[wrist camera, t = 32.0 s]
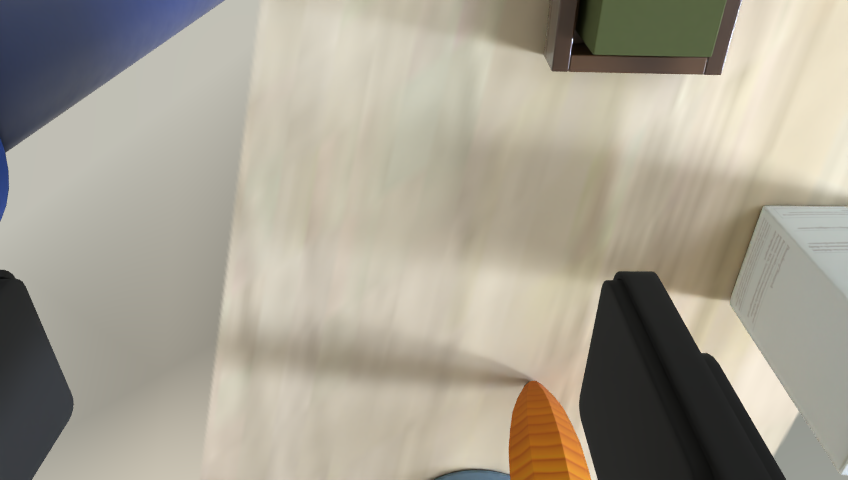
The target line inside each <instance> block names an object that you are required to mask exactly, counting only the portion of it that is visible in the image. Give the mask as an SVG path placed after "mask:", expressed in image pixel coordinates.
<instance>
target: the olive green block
mask: <svg viewBox="0 0 848 480" xmlns="http://www.w3.org/2000/svg"><path fill="white" fill-rule="evenodd" d="M726 1H727V0H580V5H579V12H578V19H577V26H576V32H577V33H578V34H579V36H580V37H581V38H582V40H583V41H584V43H585V44H586V45H587V47H588V48H589V49H590V51H591V52H592V53H593V54H594V55H632V56H681V57H711V56H712V54H713V50H714V46H715V42H716V39H717V35H718V31H719V27H720V24H721V20H722V16H723V12H724V9H725V5H726Z"/></svg>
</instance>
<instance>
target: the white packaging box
mask: <svg viewBox="0 0 848 480" xmlns="http://www.w3.org/2000/svg"><path fill="white" fill-rule="evenodd" d="M730 305H731V307H732V308H733V310H734V312H735V313H736V314H737V316H738V317H739V319H740V321H741V322H742V324H743V325H744V327H745V329H746V330H747V332H748V333H749V335H750V336H751V338H752V339H753V341H754V342H755V344H756V345H757V347H758V348H759V350H760V351H761V353H762V355H763V356H764V358H765V359H766V361H767V362H768V364H769V365H770V367H771V369H772V370H773V371H774V373H775V375H776V376H777V378H778V379H779V381H780V382H781V384H782V385H783V387H784V389H785V390H786V392H787V393H788V395H789V397H790V398H791V400H792V401H793V402H794V404H795V406H796V407H797V409H798V410H799V412H800V413H801V415H802V416H803V418H804V419H805V421H806V423H807V424H808V425H809V427H810V429H811V430H812V432H813V433H814V435H815V436H816V438H817V440H818V441H819V443H820V444H821V446H822V447H823V449H824V450H825V452H826V453H827V455H828V456H829V458H830V460H831V461H832V463H833V464H834V466H835V467H836V469H837V470H838V472H839V474H841V475H848V206H764V207H763V208H762V211H761V213H760V216H759V219H758V222H757V224H756V228H755V230H754V233H753V236H752V239H751V241H750V244H749V247H748V250H747V253H746V256H745V258H744V261H743V264H742V267H741V270H740V273H739V275H738V278H737V281H736V284H735V287H734V289H733V293H732V296H731V300H730Z"/></svg>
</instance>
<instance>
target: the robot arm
mask: <svg viewBox="0 0 848 480" xmlns="http://www.w3.org/2000/svg"><path fill="white" fill-rule="evenodd" d="M579 409H580V417H581V421H582V425H583V429H584V432H585V436H586V439H587V443H588V446H589V450H590V453H591V457H592V461H593V464H594V468H595V471H596V475H597V478H598V480H786V478H785V477H784V475H783V473H782V472H781V470H780V468H779V466H778V465H777V463H776V461H775V460H774V458H773V456H772V454H771V453H770V451H769V449H768V448H767V446H766V444H765V442H764V441H763V439H762V437H761V435H760V434H759V432H758V430H757V429H756V427H755V425H754V423H753V422H752V420H751V418H750V417H749V415H748V413H747V411H746V410H745V408H744V406H743V405H742V403H741V401H740V399H739V398H738V396H737V394H736V393H735V391H734V389H733V387H732V386H731V384H730V382H729V381H728V379H727V377H726V375H725V374H724V372H723V370H722V368H721V367H720V365H719V364H718V362H717V361H716V360H715V358H714V357H713V356H711V355H709V354H708V353H701V352H700V350H699V349H698V347H697V345H696V343H695V341H694V340H693V338H692V336H691V334H690V332H689V331H688V329H687V327H686V325H685V323H684V322H683V320H682V318H681V316H680V315H679V313H678V311H677V309H676V307H675V306H674V304H673V302H672V300H671V298H670V297H669V295H668V293H667V291H666V290H665V288H664V286H663V284H662V282H661V281H660V279H659V277H658V276H657V274H656V273H655V272H628V271H619V272H617V273H616V275H615V276H614V279H613V280H606V281H604V283H603V285H602V289H601V294H600V299H599V304H598V309H597V314H596V319H595V324H594V329H593V334H592V339H591V344H590V349H589V354H588V359H587V363H586V368H585V373H584V378H583V383H582V388H581V393H580V400H579ZM72 411H73V397H72V394H71V391H70V389H69V387H68V385H67V382H66V380H65V377H64V375H63V373H62V370H61V368H60V366H59V364H58V361H57V359H56V357H55V354H54V352H53V349H52V347H51V345H50V342H49V340H48V338H47V335H46V333H45V331H44V328H43V326H42V324H41V321H40V319H39V317H38V314H37V312H36V310H35V307H34V305H33V303H32V300H31V298H30V296H29V293H28V291H27V289H26V286H25V285H24V283H23V282H22V281H20V280H18V279H15V277H14V276H13V274H11V273H10V272H9V271H6V270H0V480H32V479H33V477H34V475H35V474H36V472H37V470H38V469H39V467H40V466H41V464H42V462H43V461H44V459H45V458H46V456H47V454H48V453H49V451H50V450H51V448H52V446H53V445H54V443H55V441H56V440H57V438H58V437H59V435H60V434H61V432H62V430H63V429H64V427H65V426H66V424H67V422H68V421H69V419H70V417H71V414H72Z"/></svg>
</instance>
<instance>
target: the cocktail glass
mask: <svg viewBox="0 0 848 480" xmlns="http://www.w3.org/2000/svg"><path fill="white" fill-rule="evenodd" d="M435 480H510V475H507V474H504V473H500V472H495V471H488V470H465V471H459V472H454V473H450V474H447V475H444V476H441V477H439V478H437V479H435Z"/></svg>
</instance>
